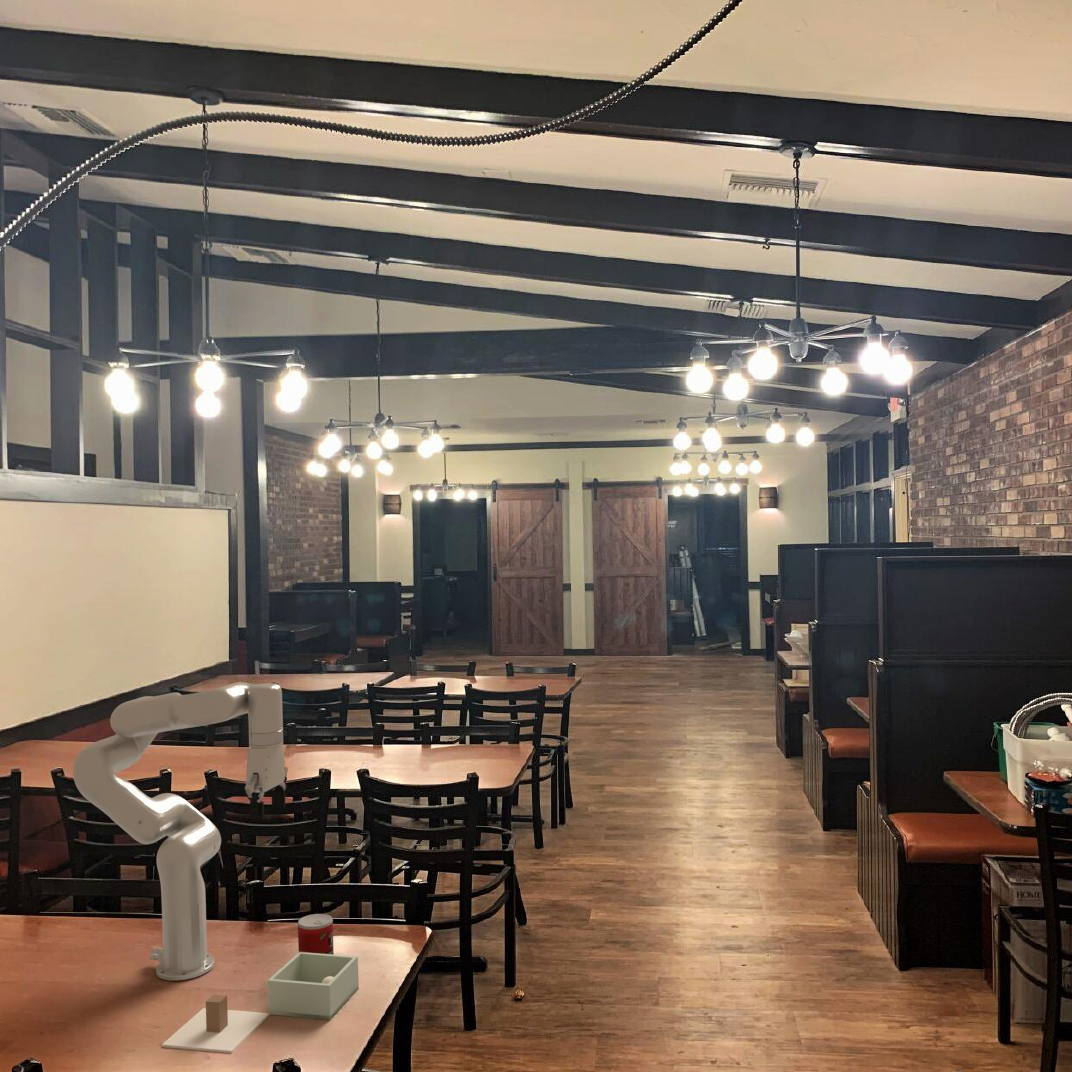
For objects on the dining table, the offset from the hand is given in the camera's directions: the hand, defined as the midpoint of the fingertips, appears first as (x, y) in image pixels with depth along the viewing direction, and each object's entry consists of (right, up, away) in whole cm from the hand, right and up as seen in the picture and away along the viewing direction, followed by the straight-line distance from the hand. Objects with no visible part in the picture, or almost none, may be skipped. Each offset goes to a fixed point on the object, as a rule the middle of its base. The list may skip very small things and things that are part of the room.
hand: (268, 813), depth 219 cm
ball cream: (+17, -33, -13) cm, 39 cm away
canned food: (+11, -36, +2) cm, 38 cm away
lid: (-3, -37, -26) cm, 45 cm away
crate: (+14, -36, -15) cm, 41 cm away
